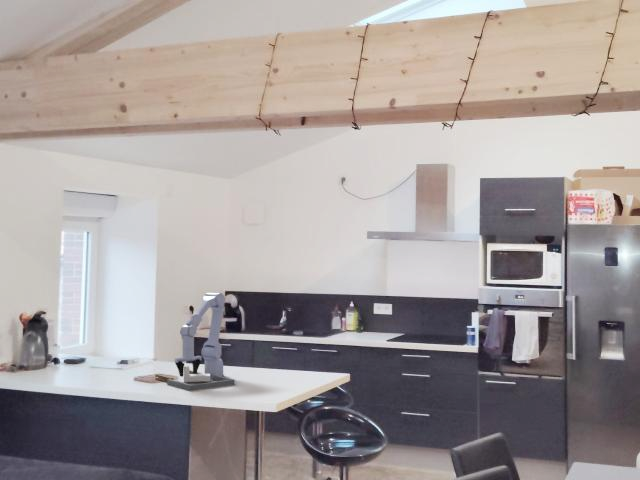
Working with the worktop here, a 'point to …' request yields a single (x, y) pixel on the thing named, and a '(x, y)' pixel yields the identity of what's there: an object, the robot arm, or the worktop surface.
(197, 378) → the bracket
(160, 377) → the brown rectangular beams
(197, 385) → the gray u-shaped frame
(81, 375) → the worktop surface
